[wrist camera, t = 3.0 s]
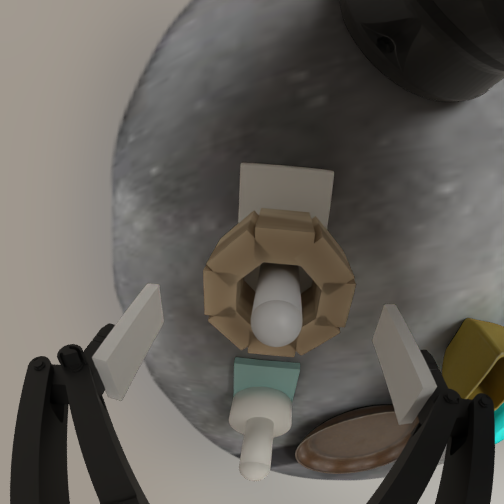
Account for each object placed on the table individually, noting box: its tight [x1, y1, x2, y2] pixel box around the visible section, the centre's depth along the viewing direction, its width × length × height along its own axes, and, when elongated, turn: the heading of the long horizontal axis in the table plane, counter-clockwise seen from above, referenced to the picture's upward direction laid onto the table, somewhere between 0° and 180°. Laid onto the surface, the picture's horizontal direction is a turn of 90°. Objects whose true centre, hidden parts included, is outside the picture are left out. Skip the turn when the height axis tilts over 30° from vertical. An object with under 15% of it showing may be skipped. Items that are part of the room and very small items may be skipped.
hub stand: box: [229, 357, 300, 481], centre depth 27 cm, size 14×7×12 cm, turn 177°
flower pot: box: [442, 318, 504, 411], centre depth 22 cm, size 9×9×9 cm
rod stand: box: [238, 162, 334, 347], centre depth 19 cm, size 14×7×11 cm, turn 177°
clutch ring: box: [203, 208, 356, 357], centre depth 19 cm, size 9×9×4 cm
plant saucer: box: [295, 405, 419, 474], centre depth 34 cm, size 21×21×3 cm
